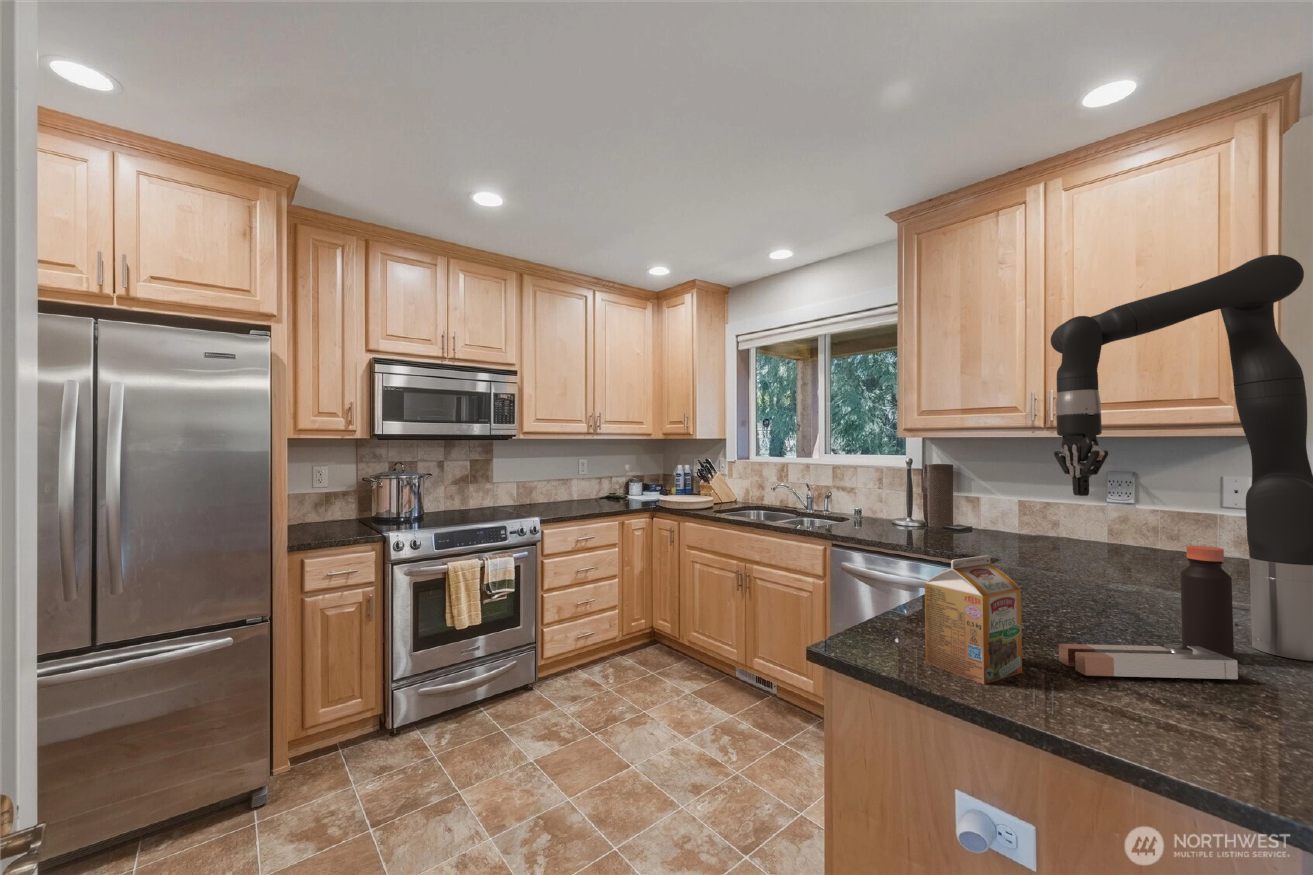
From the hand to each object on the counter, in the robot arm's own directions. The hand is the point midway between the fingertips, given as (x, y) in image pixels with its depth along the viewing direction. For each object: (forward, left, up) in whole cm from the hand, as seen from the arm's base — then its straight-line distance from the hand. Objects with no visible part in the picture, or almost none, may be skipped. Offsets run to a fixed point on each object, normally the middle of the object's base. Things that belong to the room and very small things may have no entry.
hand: (1081, 495), depth 116 cm
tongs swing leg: (+6, +19, -28) cm, 35 cm away
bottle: (-13, +12, -29) cm, 34 cm away
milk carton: (+33, +20, -29) cm, 48 cm away
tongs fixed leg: (+5, +21, -28) cm, 36 cm away
